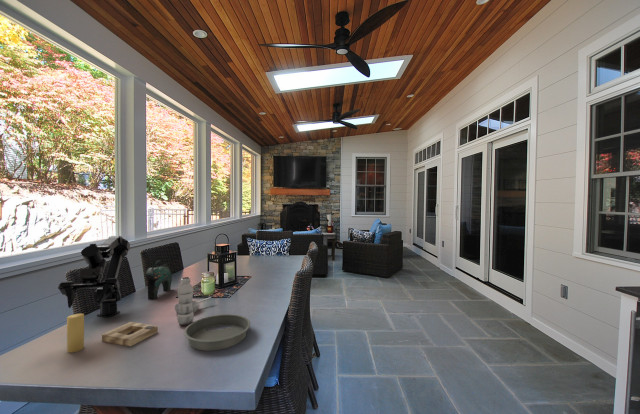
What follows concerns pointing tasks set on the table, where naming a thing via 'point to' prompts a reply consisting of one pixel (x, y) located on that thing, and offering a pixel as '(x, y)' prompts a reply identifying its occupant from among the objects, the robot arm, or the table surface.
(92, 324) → the table surface
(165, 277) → the green elephant figurine
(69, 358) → the table surface
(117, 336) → the wooden slotted board
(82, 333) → the peg
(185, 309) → the plastic bottle
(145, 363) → the table surface
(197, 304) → the saucepan
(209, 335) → the cake pan
